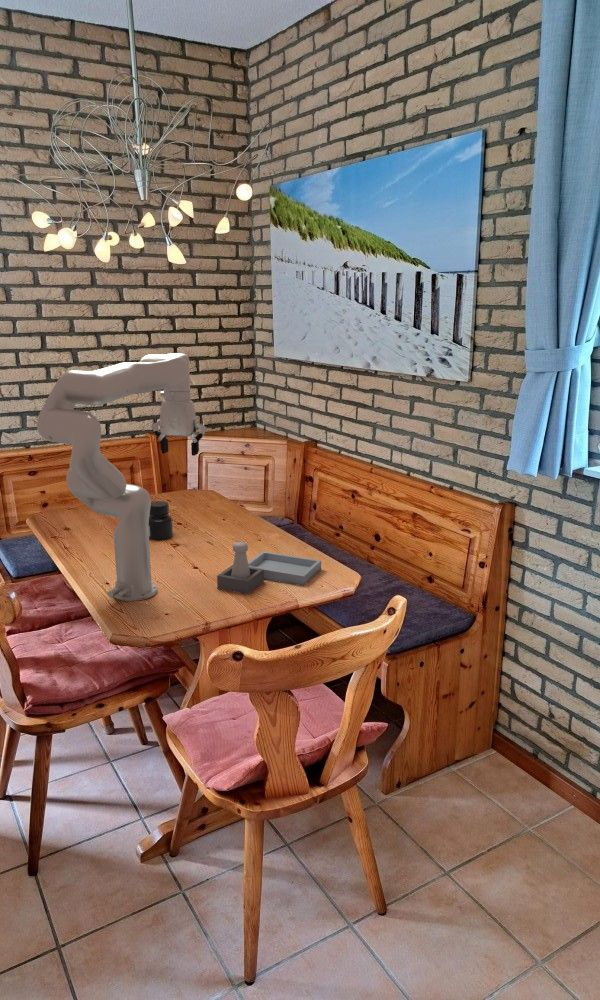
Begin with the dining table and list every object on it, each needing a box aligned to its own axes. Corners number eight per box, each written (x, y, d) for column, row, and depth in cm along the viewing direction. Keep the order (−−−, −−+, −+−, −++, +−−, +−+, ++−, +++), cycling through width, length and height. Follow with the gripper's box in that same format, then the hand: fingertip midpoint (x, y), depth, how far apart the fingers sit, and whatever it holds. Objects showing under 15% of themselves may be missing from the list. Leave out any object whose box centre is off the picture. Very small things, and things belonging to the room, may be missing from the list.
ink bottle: (155, 531, 254) (153, 499, 251) (177, 533, 252) (176, 501, 248) (142, 539, 245) (140, 506, 242) (165, 542, 243) (163, 508, 239)
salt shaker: (242, 590, 203) (242, 548, 200) (226, 586, 206) (225, 544, 203) (254, 584, 208) (254, 542, 205) (239, 579, 211) (238, 538, 207)
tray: (303, 585, 207) (303, 576, 206) (242, 575, 215) (242, 566, 214) (321, 569, 219) (321, 560, 219) (263, 560, 227) (263, 551, 226)
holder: (248, 594, 201) (248, 581, 200) (217, 588, 205) (217, 575, 204) (263, 581, 210) (263, 569, 209) (233, 576, 213) (233, 564, 212)
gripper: (144, 396, 206) (147, 454, 210) (199, 399, 201) (201, 458, 206) (156, 393, 213) (159, 449, 217) (210, 396, 208) (211, 453, 213)
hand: (179, 453), depth 212 cm, fingers open, 9 cm apart
